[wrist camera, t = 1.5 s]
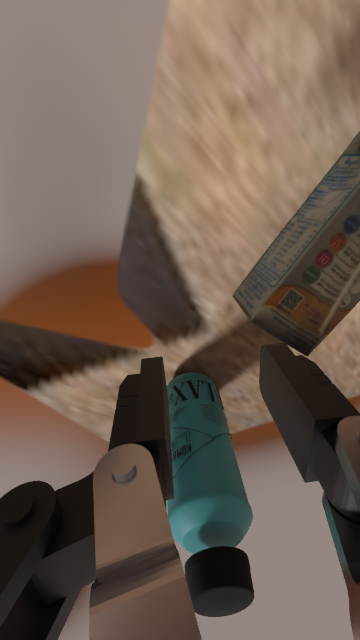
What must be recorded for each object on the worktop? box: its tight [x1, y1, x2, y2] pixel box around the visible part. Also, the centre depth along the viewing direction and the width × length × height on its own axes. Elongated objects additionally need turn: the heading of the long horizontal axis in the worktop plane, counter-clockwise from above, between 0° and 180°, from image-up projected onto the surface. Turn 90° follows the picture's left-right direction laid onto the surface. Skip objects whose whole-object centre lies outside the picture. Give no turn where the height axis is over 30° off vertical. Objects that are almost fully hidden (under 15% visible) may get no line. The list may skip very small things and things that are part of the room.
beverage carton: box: [233, 132, 360, 356], centre depth 25 cm, size 8×19×7 cm, turn 146°
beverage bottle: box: [167, 372, 254, 617], centre depth 25 cm, size 6×7×20 cm
